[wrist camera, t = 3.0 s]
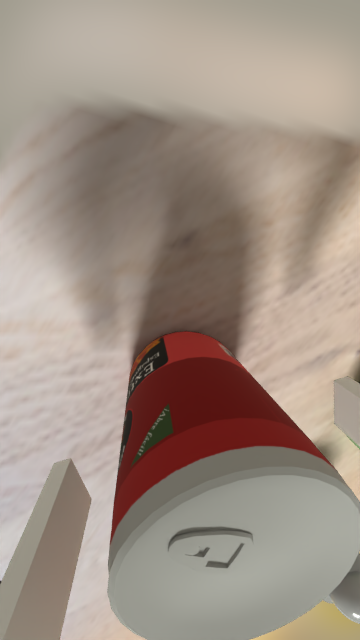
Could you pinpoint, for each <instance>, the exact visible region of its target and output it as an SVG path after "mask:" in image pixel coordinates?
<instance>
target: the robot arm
mask: <svg viewBox="0 0 360 640" xmlns="http://www.w3.org/2000/svg"><path fill="white" fill-rule="evenodd" d="M334 424H335V425H336V426H337V427H338V428H339V429H341V430H342V431H343V432H344V433H345V434H346V435H347V436H348V437H349V438H350V439H352V440H353V441H354V442H355V443H356V444H357V445H358V446H359V447H360V383H358V382H356V381H355V380H353V379H351V378H350V377H348V376H347V377H344V378H340V379H337V380H334ZM90 504H91V497H90V495H89V493H88V491H87V489H86V487H85V485H84V483H83V481H82V479H81V477H80V475H79V473H78V471H77V469H76V467H75V466H74V464H73V462H72V460H71V458H70V459H67V460H64V461H60V462H57V463H54V465H53V467H52V469H51V471H50V474H49V476H48V478H47V480H46V483H45V485H44V487H43V489H42V492H41V494H40V496H39V498H38V501H37V503H36V505H35V507H34V510H33V512H32V514H31V516H30V519H29V521H28V523H27V525H26V528H25V530H24V532H23V534H22V537H21V539H20V541H19V543H18V546H17V548H16V550H15V552H14V555H13V557H12V559H11V561H10V563H9V566H8V568H7V570H6V572H5V575H4V577H3V579H2V581H0V640H60V636H61V631H62V627H63V622H64V618H65V614H66V609H67V605H68V600H69V596H70V592H71V587H72V583H73V578H74V574H75V570H76V565H77V561H78V556H79V552H80V548H81V543H82V539H83V535H84V530H85V526H86V521H87V517H88V513H89V508H90Z"/></svg>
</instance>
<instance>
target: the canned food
mask: <svg viewBox="0 0 360 640" xmlns="http://www.w3.org/2000/svg"><path fill="white" fill-rule="evenodd" d="M359 551H360V502H359V500H358V499H357V497H356V496H355V494H354V493H353V492H352V490H351V489H350V488H349V487H348V486H347V484H346V483H345V481H344V480H343V479H342V477H341V476H340V474H339V473H338V471H337V470H336V469H335V468H334V467H333V466H332V465H331V463H330V462H329V461H328V460H327V459H326V458H325V457H324V456H323V455H322V453H321V452H320V451H319V450H318V449H317V448H316V446H315V445H314V444H313V443H312V441H311V440H310V439H309V438H308V437H307V436H306V435H305V434H304V433H303V431H302V430H301V429H300V428H299V427H298V426H297V425H296V424H295V423H294V422H293V420H292V419H291V418H290V417H289V416H288V415H287V414H286V413H285V412H284V411H283V409H282V408H281V407H280V406H279V405H278V404H277V403H276V402H275V401H274V400H273V398H272V397H271V396H270V395H269V394H268V393H267V392H266V391H265V390H264V389H263V387H262V386H261V385H260V384H259V383H258V382H257V381H256V380H255V379H254V378H253V377H252V375H251V374H250V373H249V372H248V371H247V370H246V369H245V368H244V367H243V366H242V364H241V363H240V362H239V361H238V360H237V359H236V358H235V357H234V356H233V355H232V353H231V352H230V351H229V350H228V349H227V348H226V347H225V346H224V345H223V344H221V343H220V342H219V341H217V340H215V339H214V338H212V337H210V336H207V335H204V334H201V333H196V332H188V331H183V332H174V333H170V334H166V335H164V336H162V337H160V338H157V339H156V340H154V341H153V342H152V343H150V344H149V345H148V346H147V347H146V348H145V349H144V350H143V351H142V352H141V353H140V354H139V355H138V357H137V359H136V360H135V362H134V364H133V366H132V369H131V372H130V378H129V386H128V394H127V402H126V410H125V418H124V426H123V434H122V442H121V450H120V458H119V467H118V475H117V483H116V491H115V499H114V508H113V519H112V531H111V539H110V548H109V559H108V570H109V580H108V591H107V592H108V597H109V601H110V605H111V609H112V610H113V612H114V613H115V615H116V616H117V618H118V619H119V621H120V622H121V623H122V624H123V625H124V626H126V627H127V628H128V629H129V630H130V631H132V632H133V633H134V634H137V635H139V636H141V637H143V638H145V639H147V640H249V639H253V638H256V637H259V636H261V635H264V634H266V633H269V632H271V631H274V630H276V629H278V628H280V627H282V626H284V625H286V624H288V623H290V622H292V621H294V620H295V619H297V618H298V617H300V616H302V615H303V614H305V613H306V612H308V611H310V610H311V609H312V608H314V607H315V606H316V605H317V604H319V603H320V602H321V601H322V600H324V599H325V598H326V597H327V596H328V595H329V594H330V593H331V592H332V591H333V590H334V589H335V588H336V587H337V586H338V585H339V584H340V583H341V581H342V580H343V579H344V577H345V576H346V575H347V573H348V572H349V571H350V569H351V567H352V565H353V564H354V562H355V560H356V558H357V556H358V554H359Z"/></svg>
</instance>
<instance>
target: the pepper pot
mask: <svg viewBox="0 0 360 640" xmlns="http://www.w3.org/2000/svg"><path fill="white" fill-rule="evenodd" d="M324 601H325V602H327V603H334V604H335V606H336V607H337V608H338V609H339V611H340V612H341V613H342V614H343V615H345V616H346V617H347V618H348V619H350V620H352V621H354V622H356V623H360V554H358V556H357V558H356V560H355V562H354V564H353V565H352V567H351V569H350V571H349V572H348V573H347V575H346V576H345V577H344V579H343V580H342V581H341V583H340V584H339V585H338V586H337V587H336V588H335V589H334V590H333V591H332V592H331V593H330V594H329V595H328V596H327V597H326V598H325V599H324Z"/></svg>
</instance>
